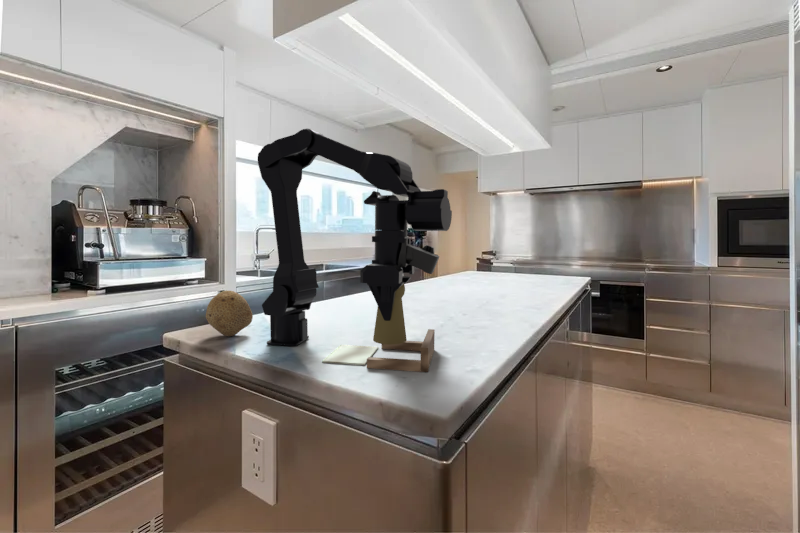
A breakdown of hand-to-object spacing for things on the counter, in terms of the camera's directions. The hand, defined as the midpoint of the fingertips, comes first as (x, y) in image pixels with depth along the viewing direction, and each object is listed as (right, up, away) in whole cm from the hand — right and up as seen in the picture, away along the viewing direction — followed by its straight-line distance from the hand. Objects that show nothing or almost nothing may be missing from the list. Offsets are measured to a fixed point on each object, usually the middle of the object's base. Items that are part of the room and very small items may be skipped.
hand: (390, 317), depth 68 cm
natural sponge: (-36, -6, +15) cm, 39 cm away
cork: (0, -4, 0) cm, 4 cm away
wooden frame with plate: (-1, -7, +1) cm, 7 cm away
